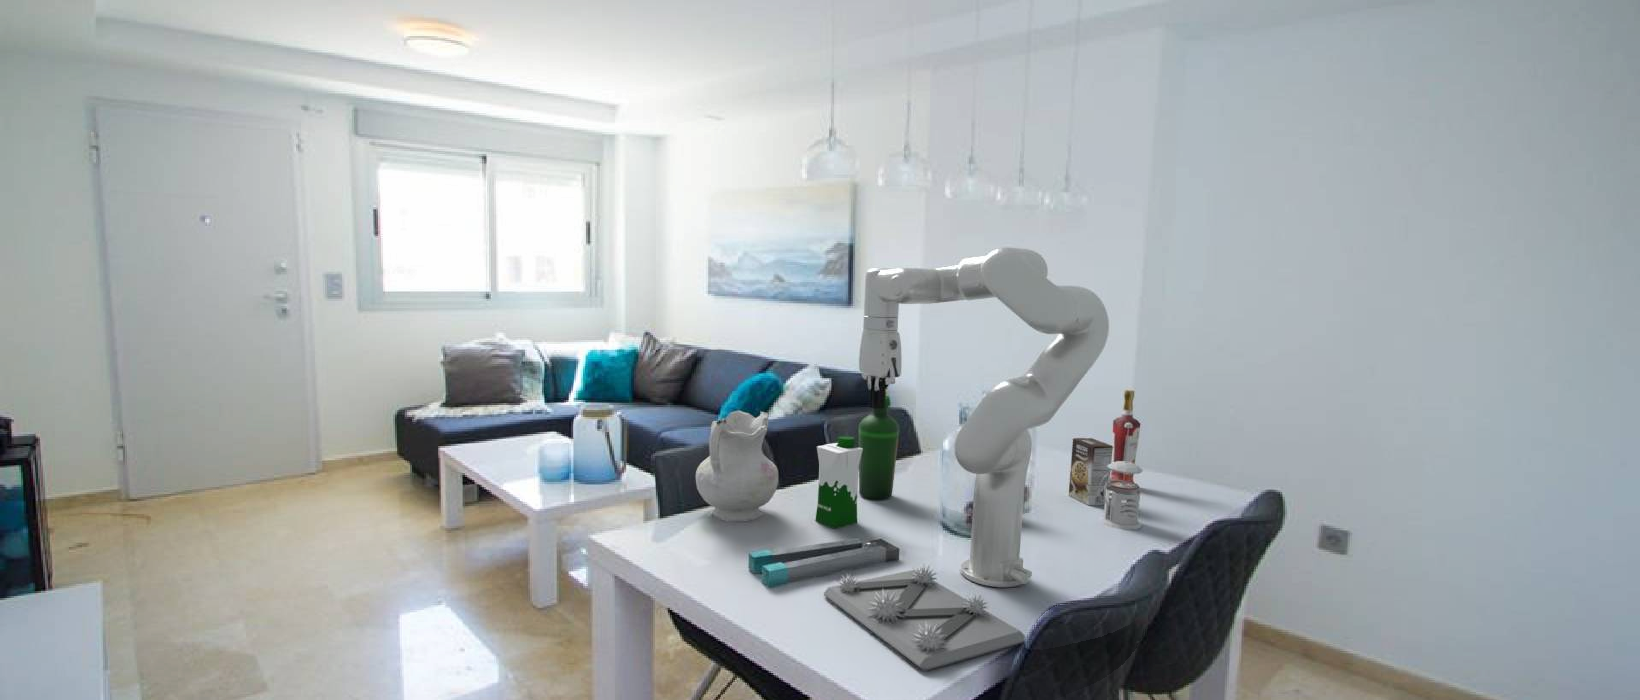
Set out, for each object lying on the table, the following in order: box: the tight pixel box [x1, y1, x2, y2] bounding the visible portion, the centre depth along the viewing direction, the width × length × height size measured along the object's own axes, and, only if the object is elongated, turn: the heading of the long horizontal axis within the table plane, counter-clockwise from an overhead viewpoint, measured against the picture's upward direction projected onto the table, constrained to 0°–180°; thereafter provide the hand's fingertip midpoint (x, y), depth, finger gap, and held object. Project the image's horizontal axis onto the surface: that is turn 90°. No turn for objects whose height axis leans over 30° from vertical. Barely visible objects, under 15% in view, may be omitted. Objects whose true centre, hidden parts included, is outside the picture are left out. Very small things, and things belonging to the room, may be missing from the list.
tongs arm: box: [747, 538, 877, 574], centre depth 152 cm, size 27×5×3 cm, turn 116°
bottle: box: [858, 390, 900, 501], centre depth 199 cm, size 11×11×28 cm
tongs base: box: [761, 538, 900, 589], centre depth 151 cm, size 30×7×3 cm, turn 122°
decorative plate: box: [823, 563, 1026, 672], centre depth 130 cm, size 30×22×7 cm
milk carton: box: [815, 435, 863, 530], centre depth 177 cm, size 9×9×20 cm
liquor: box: [1110, 389, 1141, 483], centre depth 219 cm, size 7×7×28 cm
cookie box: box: [1068, 437, 1113, 506], centre depth 204 cm, size 9×6×16 cm
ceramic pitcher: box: [695, 410, 779, 523], centre depth 179 cm, size 22×20×25 cm
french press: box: [1099, 423, 1144, 530], centre depth 185 cm, size 10×12×25 cm
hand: (876, 407), depth 168 cm, fingers closed
